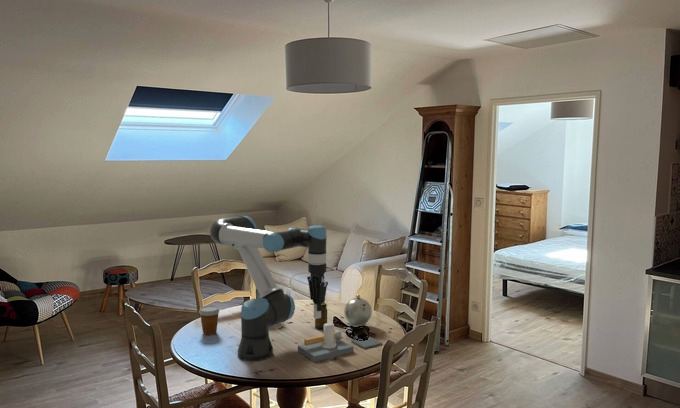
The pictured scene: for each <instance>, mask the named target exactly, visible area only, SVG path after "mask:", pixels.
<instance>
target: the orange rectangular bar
mask: <svg viewBox="0 0 680 408" xmlns="http://www.w3.org/2000/svg"><path fill="white" fill-rule="evenodd" d="M334 339H341V340H342V331H341V330H334ZM321 342H324V334H322V335H318V336H313V337H309V338H305V339H304V343H303V344H304V345H305V346H308V345H312V344H316V343H321Z"/></svg>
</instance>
